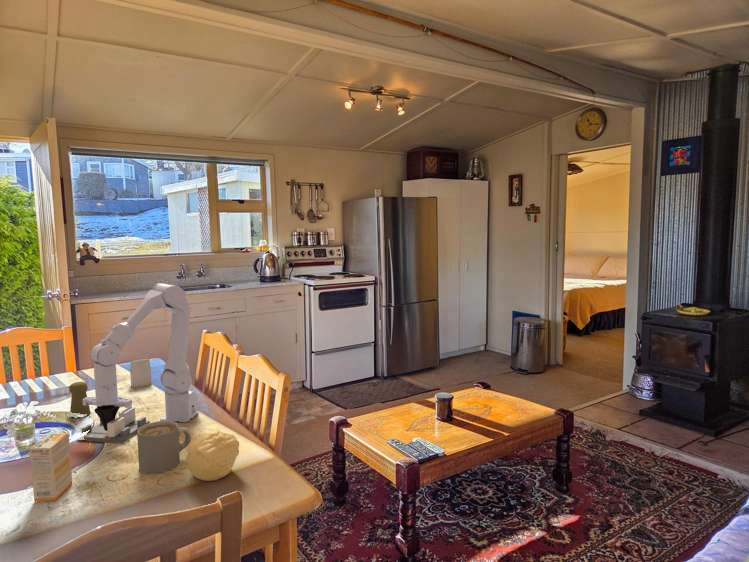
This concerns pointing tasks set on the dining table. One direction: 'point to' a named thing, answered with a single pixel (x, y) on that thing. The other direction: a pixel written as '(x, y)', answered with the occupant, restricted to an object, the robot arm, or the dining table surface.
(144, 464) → the coffee mug
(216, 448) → the sculpture
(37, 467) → the supplement box
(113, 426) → the near fader cap
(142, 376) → the beige rectangular box
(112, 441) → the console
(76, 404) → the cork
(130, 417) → the far fader cap
